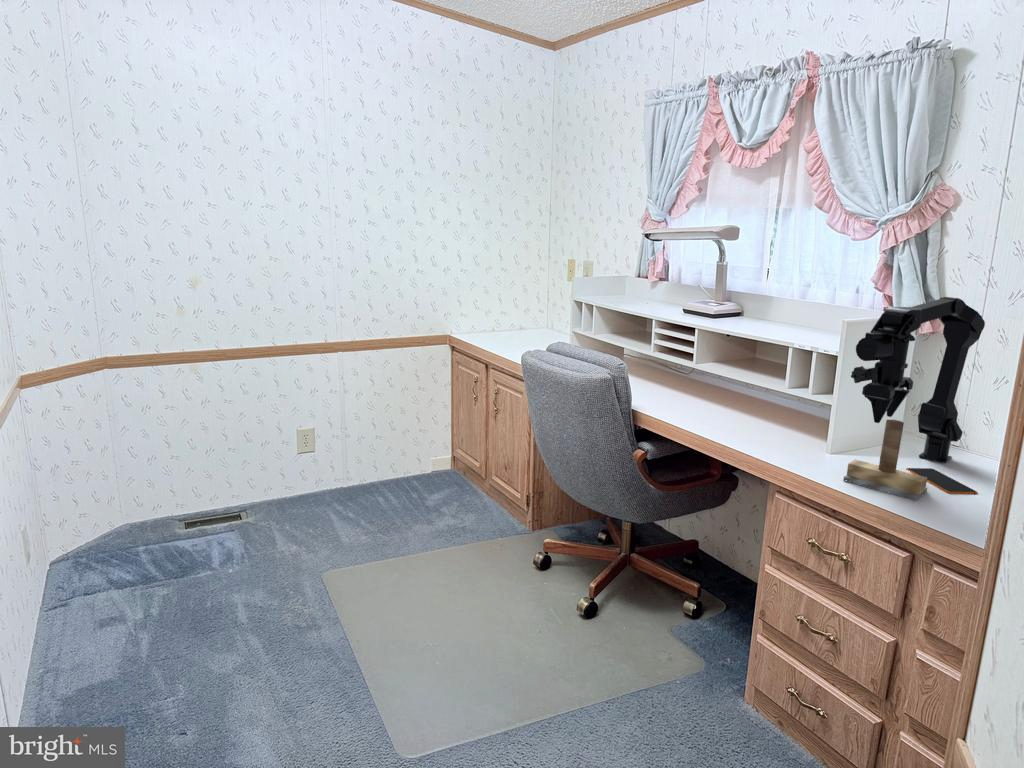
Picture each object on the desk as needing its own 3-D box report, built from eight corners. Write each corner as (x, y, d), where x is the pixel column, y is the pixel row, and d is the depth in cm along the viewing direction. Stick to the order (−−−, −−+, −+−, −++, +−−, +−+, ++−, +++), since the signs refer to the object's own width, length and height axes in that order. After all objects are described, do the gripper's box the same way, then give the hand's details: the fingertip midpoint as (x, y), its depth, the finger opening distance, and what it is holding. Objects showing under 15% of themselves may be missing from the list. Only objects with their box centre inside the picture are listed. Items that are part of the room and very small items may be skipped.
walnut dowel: (876, 467, 164) (884, 419, 161) (892, 468, 163) (900, 420, 160) (881, 472, 160) (889, 423, 157) (897, 473, 160) (906, 424, 157)
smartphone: (932, 470, 176) (932, 467, 176) (978, 495, 160) (979, 492, 159) (904, 470, 175) (904, 467, 175) (947, 495, 159) (948, 492, 159)
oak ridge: (843, 480, 165) (845, 465, 164) (855, 473, 171) (857, 458, 170) (916, 500, 154) (919, 484, 153) (926, 491, 160) (929, 475, 159)
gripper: (871, 350, 180) (862, 407, 184) (844, 357, 168) (835, 418, 171) (918, 356, 173) (908, 416, 176) (894, 365, 160) (883, 429, 163)
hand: (883, 419), depth 172 cm, fingers open, 9 cm apart
